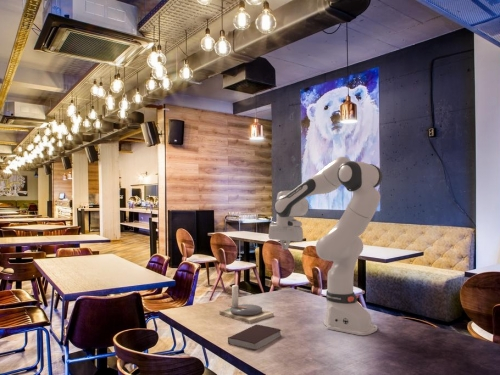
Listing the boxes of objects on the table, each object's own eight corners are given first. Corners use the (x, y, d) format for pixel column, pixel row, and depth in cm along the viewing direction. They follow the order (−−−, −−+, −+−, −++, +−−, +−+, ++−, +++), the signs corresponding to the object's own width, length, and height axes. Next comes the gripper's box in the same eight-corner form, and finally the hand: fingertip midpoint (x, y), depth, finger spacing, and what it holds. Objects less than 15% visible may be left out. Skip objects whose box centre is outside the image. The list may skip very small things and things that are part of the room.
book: (227, 344, 145) (227, 336, 145) (255, 330, 161) (255, 322, 161) (255, 352, 138) (255, 343, 138) (281, 336, 154) (281, 328, 154)
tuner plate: (273, 315, 180) (273, 312, 180) (249, 323, 169) (249, 319, 169) (243, 307, 194) (243, 304, 194) (219, 314, 183) (219, 310, 183)
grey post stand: (267, 308, 185) (267, 285, 185) (253, 317, 171) (253, 292, 172) (236, 304, 192) (236, 282, 193) (220, 312, 179) (220, 288, 179)
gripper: (265, 221, 202) (265, 248, 202) (297, 223, 188) (297, 251, 188) (273, 221, 207) (273, 247, 206) (304, 222, 193) (304, 250, 192)
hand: (285, 249), depth 197 cm, fingers closed
